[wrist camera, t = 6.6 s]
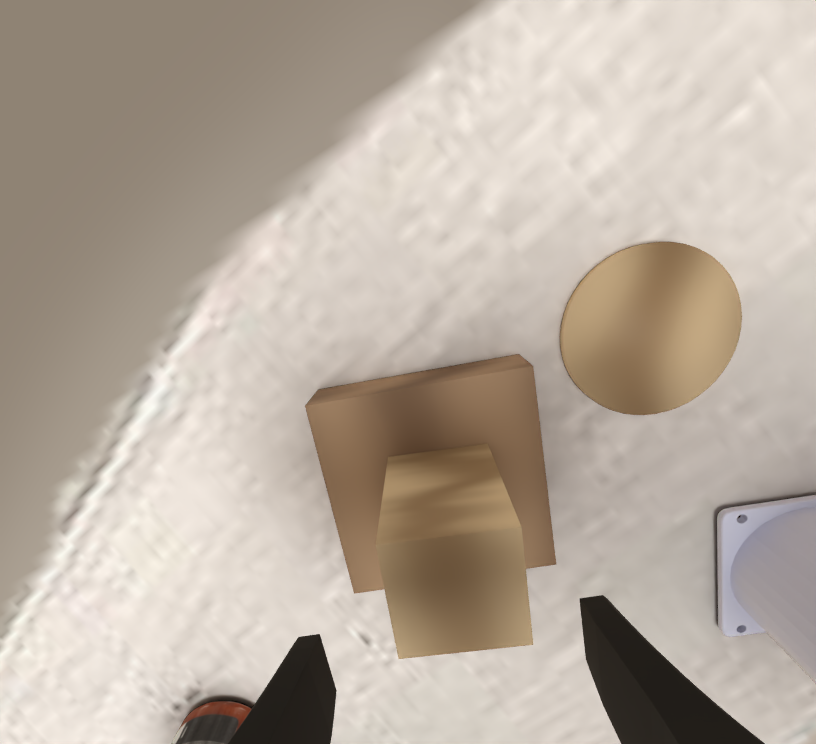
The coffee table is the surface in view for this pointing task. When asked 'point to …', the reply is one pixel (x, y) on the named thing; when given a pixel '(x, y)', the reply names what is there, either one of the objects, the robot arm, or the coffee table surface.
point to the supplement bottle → (212, 723)
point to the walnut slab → (430, 446)
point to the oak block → (451, 554)
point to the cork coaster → (651, 328)
